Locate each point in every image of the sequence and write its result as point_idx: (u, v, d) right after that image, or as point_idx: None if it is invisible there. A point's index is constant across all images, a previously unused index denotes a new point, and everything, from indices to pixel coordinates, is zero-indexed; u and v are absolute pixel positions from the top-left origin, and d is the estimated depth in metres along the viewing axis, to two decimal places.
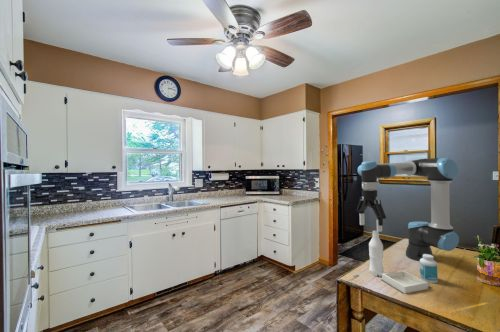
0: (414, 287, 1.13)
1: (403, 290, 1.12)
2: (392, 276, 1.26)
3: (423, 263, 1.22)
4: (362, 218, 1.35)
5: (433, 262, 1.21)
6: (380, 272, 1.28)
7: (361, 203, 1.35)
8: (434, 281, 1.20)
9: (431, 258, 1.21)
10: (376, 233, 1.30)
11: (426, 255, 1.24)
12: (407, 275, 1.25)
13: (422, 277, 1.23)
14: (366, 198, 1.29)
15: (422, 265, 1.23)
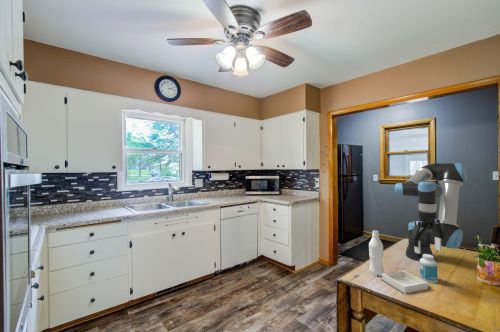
0: (414, 287, 1.13)
1: (403, 290, 1.12)
2: (392, 276, 1.26)
3: (423, 263, 1.22)
4: (437, 242, 1.25)
5: (433, 262, 1.21)
6: (380, 272, 1.28)
7: (436, 226, 1.25)
8: (434, 281, 1.20)
9: (431, 258, 1.21)
10: (376, 233, 1.30)
11: (426, 255, 1.24)
12: (407, 275, 1.25)
13: (422, 277, 1.23)
14: None
15: (422, 265, 1.23)
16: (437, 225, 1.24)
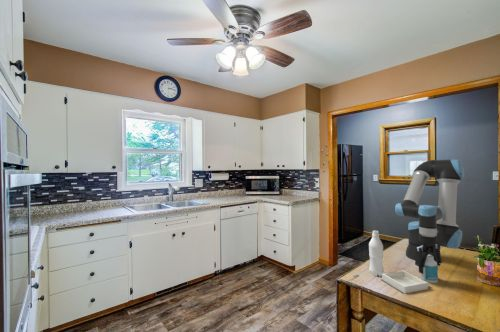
0: (414, 287, 1.13)
1: (403, 290, 1.12)
2: (392, 276, 1.26)
3: None
4: None
5: (433, 262, 1.21)
6: (380, 272, 1.28)
7: (435, 251, 1.25)
8: (434, 281, 1.20)
9: (431, 258, 1.21)
10: (376, 233, 1.30)
11: None
12: (407, 275, 1.25)
13: None
14: None
15: None
16: (436, 250, 1.24)
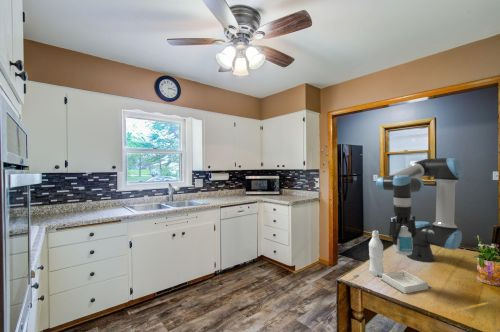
0: (414, 287, 1.13)
1: (403, 290, 1.12)
2: (392, 276, 1.26)
3: None
4: None
5: (407, 233, 1.17)
6: (380, 272, 1.28)
7: (410, 223, 1.21)
8: (408, 252, 1.16)
9: (405, 229, 1.17)
10: (376, 233, 1.30)
11: (401, 226, 1.20)
12: (407, 275, 1.25)
13: None
14: None
15: None
16: (411, 222, 1.20)
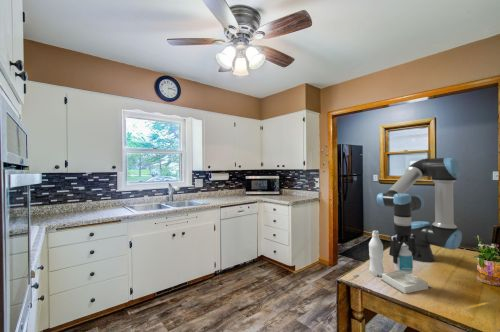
0: (414, 287, 1.13)
1: (403, 290, 1.12)
2: (392, 276, 1.26)
3: None
4: None
5: (407, 252, 1.17)
6: (380, 272, 1.28)
7: (411, 241, 1.21)
8: (408, 271, 1.16)
9: (406, 248, 1.17)
10: (376, 233, 1.30)
11: None
12: (407, 275, 1.25)
13: None
14: None
15: None
16: (412, 240, 1.20)
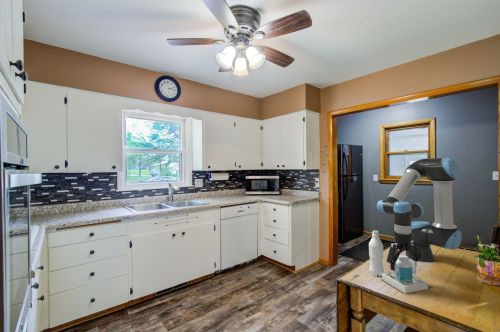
0: (414, 287, 1.13)
1: (403, 290, 1.12)
2: (392, 276, 1.26)
3: (398, 264, 1.19)
4: (412, 265, 1.21)
5: (408, 263, 1.17)
6: (380, 272, 1.28)
7: (412, 248, 1.21)
8: (409, 283, 1.16)
9: (406, 259, 1.18)
10: (376, 233, 1.30)
11: (401, 256, 1.20)
12: None
13: (397, 279, 1.20)
14: None
15: None
16: (413, 247, 1.21)
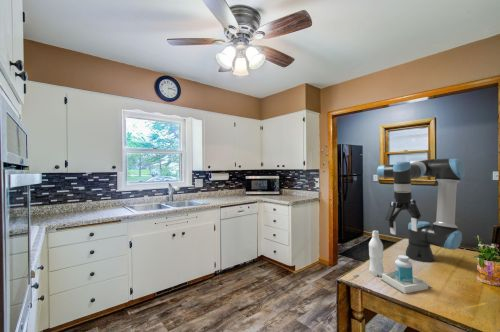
0: (414, 287, 1.13)
1: (403, 290, 1.12)
2: (392, 276, 1.26)
3: (398, 264, 1.19)
4: (413, 223, 1.23)
5: (408, 263, 1.17)
6: (380, 272, 1.28)
7: (412, 207, 1.23)
8: (409, 283, 1.16)
9: (406, 259, 1.18)
10: (376, 233, 1.30)
11: (401, 256, 1.20)
12: None
13: (397, 279, 1.20)
14: None
15: (396, 267, 1.19)
16: (413, 205, 1.22)
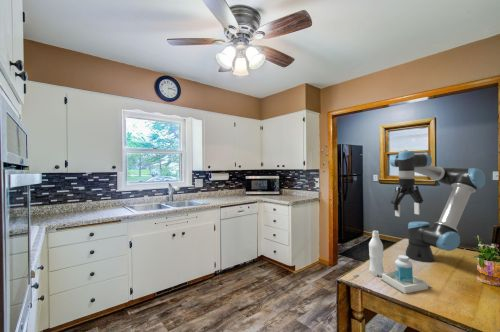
0: (414, 287, 1.13)
1: (403, 290, 1.12)
2: (392, 276, 1.26)
3: (398, 264, 1.19)
4: (416, 207, 1.35)
5: (408, 263, 1.17)
6: (380, 272, 1.28)
7: (415, 192, 1.35)
8: (409, 283, 1.16)
9: (406, 259, 1.18)
10: (376, 233, 1.30)
11: (401, 256, 1.20)
12: None
13: (397, 279, 1.20)
14: None
15: (397, 267, 1.19)
16: (416, 191, 1.34)
